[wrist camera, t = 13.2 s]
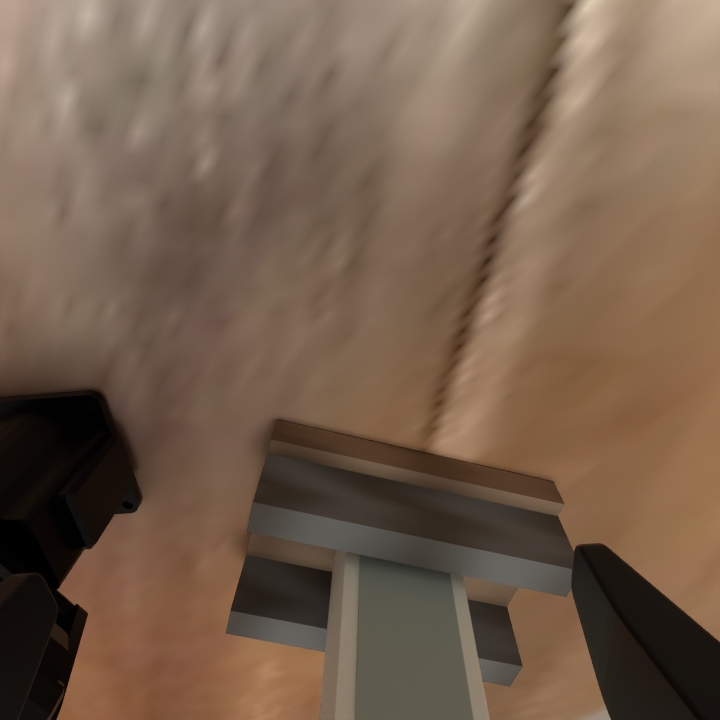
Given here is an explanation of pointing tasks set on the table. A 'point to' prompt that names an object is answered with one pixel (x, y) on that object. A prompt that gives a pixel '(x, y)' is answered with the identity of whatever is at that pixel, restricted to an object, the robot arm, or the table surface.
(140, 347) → the table surface
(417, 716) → the cream slab
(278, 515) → the display ledge
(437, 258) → the table surface
